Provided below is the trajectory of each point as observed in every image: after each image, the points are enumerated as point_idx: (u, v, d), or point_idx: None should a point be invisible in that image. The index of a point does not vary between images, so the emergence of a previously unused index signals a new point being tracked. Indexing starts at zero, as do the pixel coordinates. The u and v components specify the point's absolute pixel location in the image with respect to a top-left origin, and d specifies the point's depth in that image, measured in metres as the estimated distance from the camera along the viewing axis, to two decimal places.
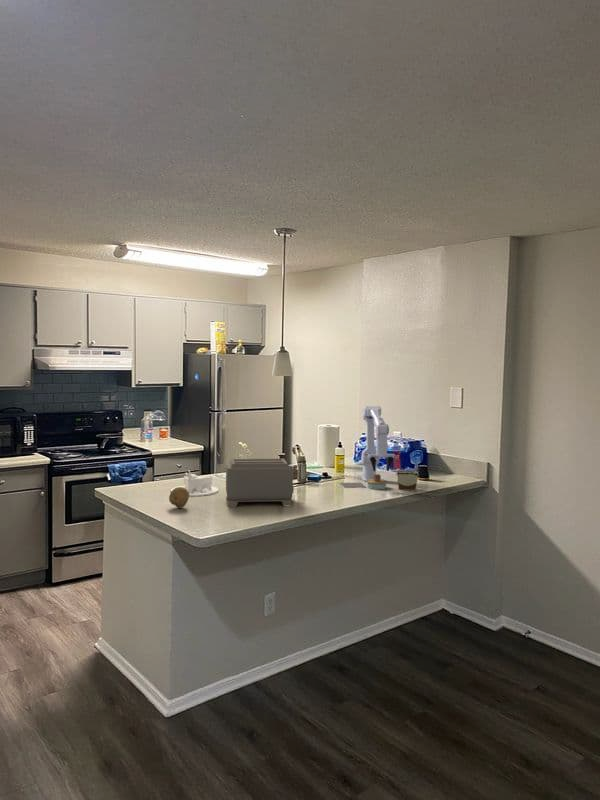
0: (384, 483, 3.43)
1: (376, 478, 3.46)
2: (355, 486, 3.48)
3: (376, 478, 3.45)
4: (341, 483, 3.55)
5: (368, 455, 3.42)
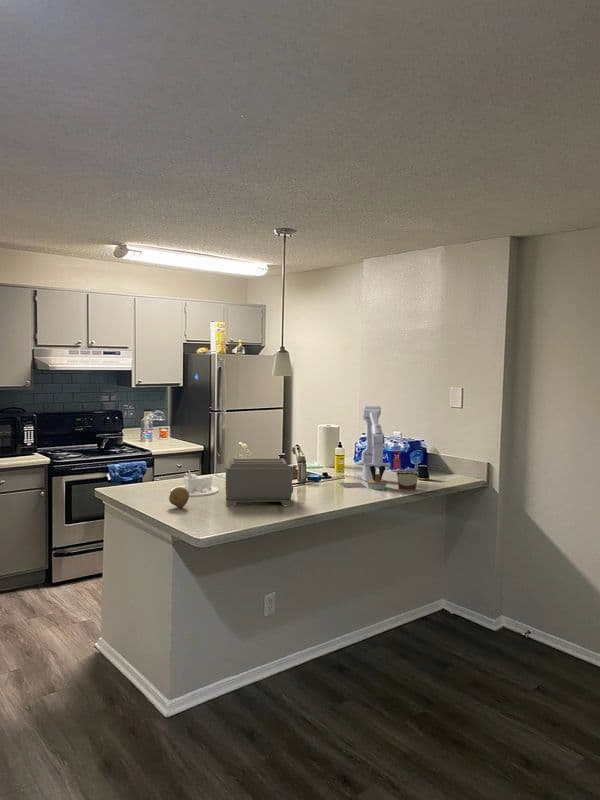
0: (384, 483, 3.43)
1: (376, 478, 3.46)
2: (355, 486, 3.48)
3: (376, 478, 3.45)
4: (341, 483, 3.55)
5: (364, 464, 3.46)
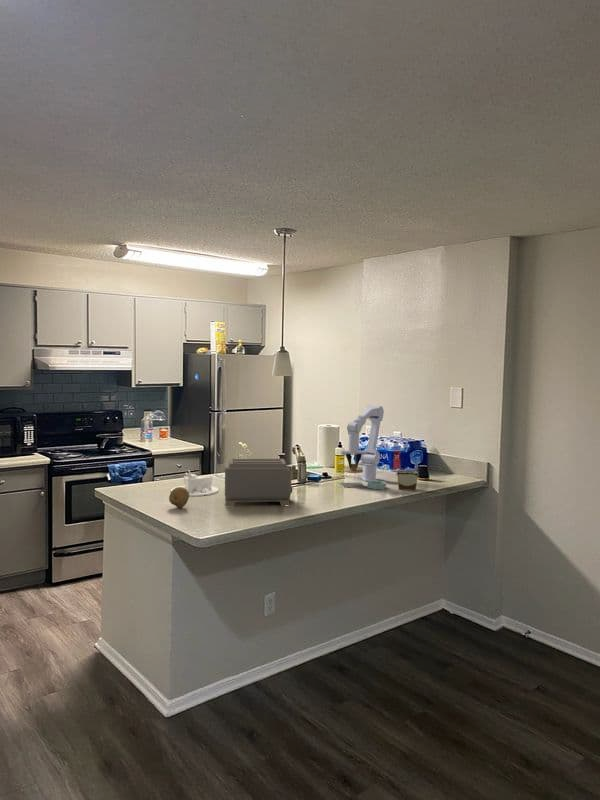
0: (360, 472, 3.48)
1: (352, 467, 3.50)
2: (355, 486, 3.48)
3: (352, 467, 3.50)
4: (341, 483, 3.55)
5: None
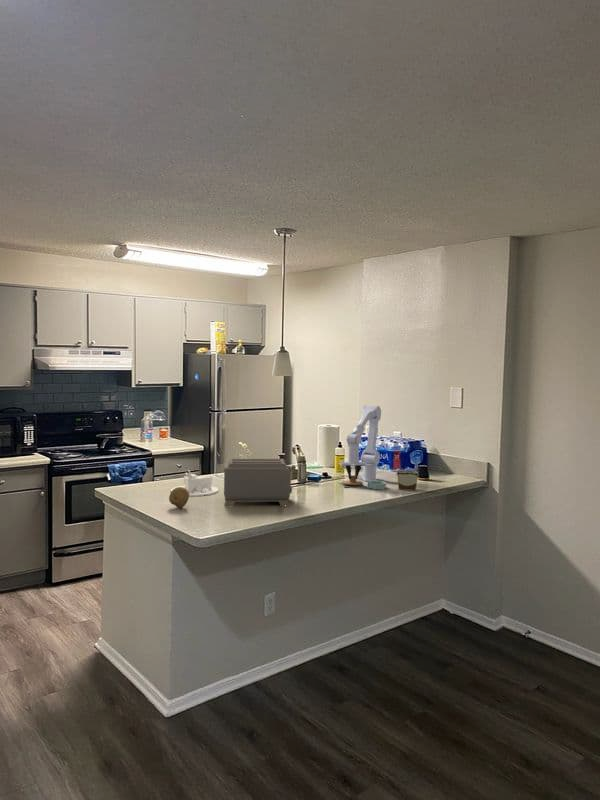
0: (360, 484, 3.48)
1: (352, 479, 3.51)
2: (355, 486, 3.48)
3: (351, 479, 3.51)
4: (341, 483, 3.55)
5: (340, 464, 3.51)
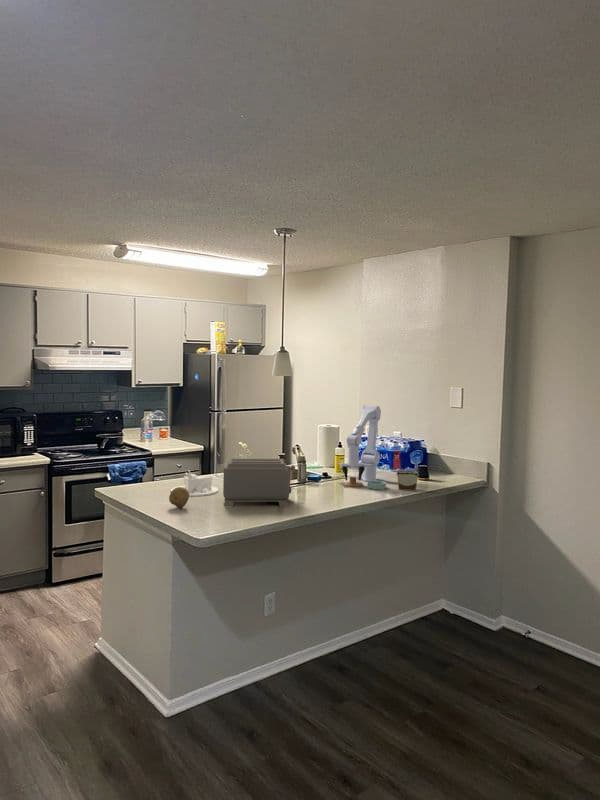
0: (359, 485, 3.48)
1: (352, 481, 3.51)
2: None
3: (351, 480, 3.51)
4: (341, 483, 3.55)
5: (340, 465, 3.51)
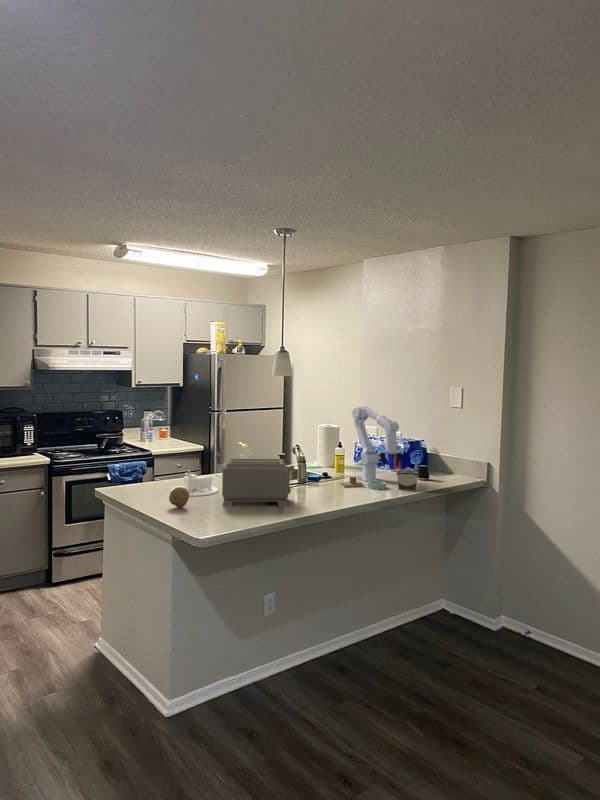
0: (359, 485, 3.48)
1: (352, 481, 3.51)
2: None
3: (351, 480, 3.51)
4: (341, 483, 3.55)
5: (378, 451, 3.55)
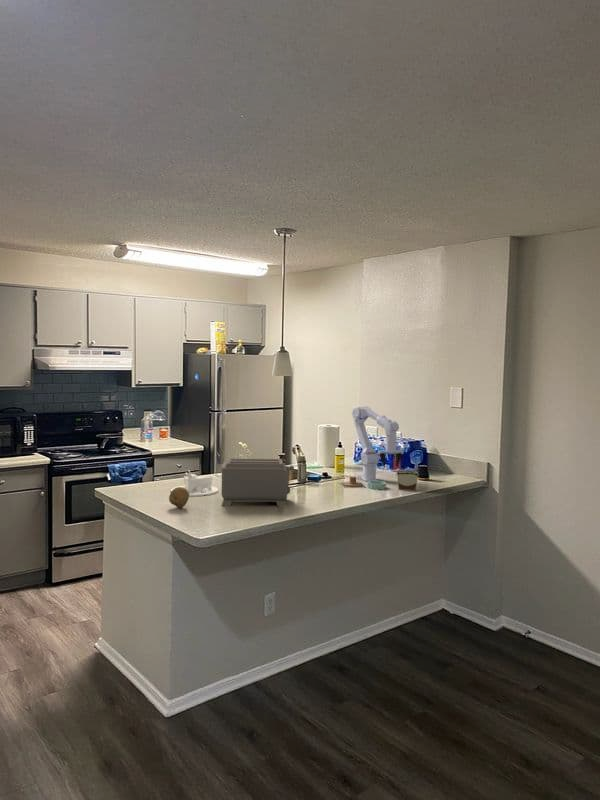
0: (359, 485, 3.48)
1: (352, 481, 3.51)
2: None
3: (351, 480, 3.51)
4: (341, 483, 3.55)
5: (378, 451, 3.55)
